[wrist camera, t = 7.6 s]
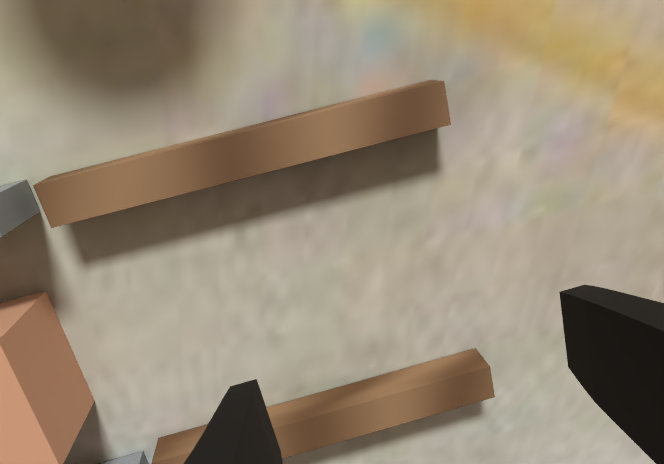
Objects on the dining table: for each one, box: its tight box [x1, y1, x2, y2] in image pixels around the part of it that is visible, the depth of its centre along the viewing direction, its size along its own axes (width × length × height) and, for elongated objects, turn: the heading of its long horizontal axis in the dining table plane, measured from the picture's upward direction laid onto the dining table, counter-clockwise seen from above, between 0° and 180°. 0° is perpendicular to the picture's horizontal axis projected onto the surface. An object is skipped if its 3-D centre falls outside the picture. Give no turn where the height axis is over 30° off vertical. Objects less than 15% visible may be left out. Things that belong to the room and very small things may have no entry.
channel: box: [33, 80, 495, 464], centre depth 20 cm, size 14×13×2 cm
